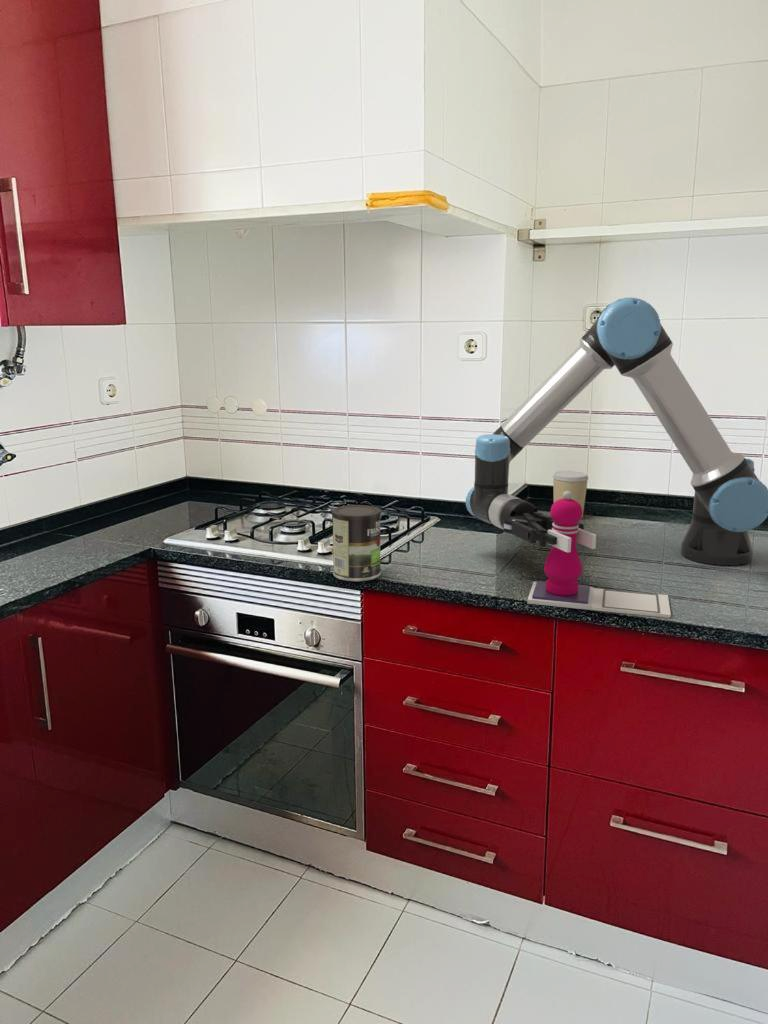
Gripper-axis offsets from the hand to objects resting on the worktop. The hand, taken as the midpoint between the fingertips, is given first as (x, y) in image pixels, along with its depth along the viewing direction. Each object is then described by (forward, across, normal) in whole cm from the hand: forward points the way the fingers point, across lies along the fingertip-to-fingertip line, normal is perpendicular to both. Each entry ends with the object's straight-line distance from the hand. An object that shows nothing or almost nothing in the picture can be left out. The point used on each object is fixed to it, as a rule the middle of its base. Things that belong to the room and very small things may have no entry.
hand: (581, 543), depth 147 cm
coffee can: (-34, +32, -13) cm, 48 cm away
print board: (+3, -10, -12) cm, 16 cm away
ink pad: (-5, 0, -12) cm, 13 cm away
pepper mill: (-5, 0, -11) cm, 12 cm away
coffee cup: (-58, -40, -13) cm, 71 cm away
